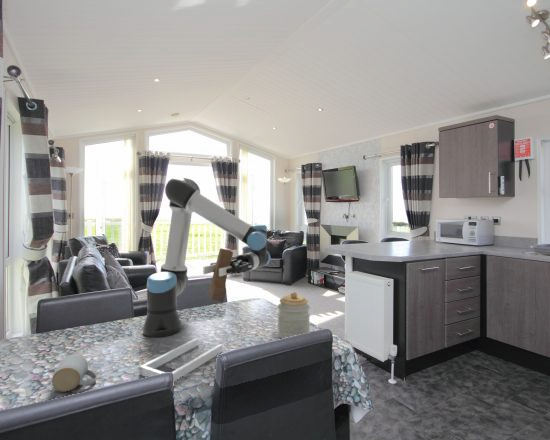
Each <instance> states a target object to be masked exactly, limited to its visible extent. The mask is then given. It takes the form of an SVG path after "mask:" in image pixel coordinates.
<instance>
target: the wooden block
mask: <svg viewBox="0 0 550 440" xmlns="http://www.w3.org/2000/svg"><path fill="white" fill-rule="evenodd" d="M233 253H234V252H233V251H232V250H230V249H226V248H220V249H219V251H218V255H217V259H216V266H215V270H214V272H213V274H212V278H211V282H210V285H209V289H208V295H209V296H210V299H211V300H212V301H215V302H217V301H218V302H224V300H225V298H226V294H227V288H226V282H227V278H228V274H227V275H224V276H219V269H220V268H224V267H228V266H230V263H231V261H232V260H233Z"/></svg>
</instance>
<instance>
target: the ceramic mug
mask: <svg viewBox="0 0 550 440" xmlns="http://www.w3.org/2000/svg"><path fill="white" fill-rule="evenodd" d="M88 368H89V363H88V361H87V359H86V358H85V357H84V356H83V355H80V354H69V355H66V356H65V357H64V358H63V359H61V361H60V362H59V364H58V366H57V368H56V370H55V371H54V373H53V375H52V379H51V384H52V386H53V388H54V389H55V390H56V391H58V392H61V393H67V392H66V391H68V392H71V391H73V390H75V389H76V388H77V387H78V386H83V387H89V386H90V387H91V386H93V385H94V384H95V383H96V381H97V379H98V375H97V374H96V372H94V371H93V370H90V369H88ZM85 375H86V376H89V377H91V378H92V379H93V380H85V379H83V378H84V377H85ZM70 390H71V391H70Z"/></svg>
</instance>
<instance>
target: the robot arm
mask: <svg viewBox="0 0 550 440" xmlns="http://www.w3.org/2000/svg"><path fill="white" fill-rule="evenodd" d="M164 192H165V196H166V198H167V199H168V200H169V208H170V209H171V211H172V212H171V218H170V219H171V220H170V225H169V234H168V240H167V246H166V247H167V248H166V255H165V262H164V263H163V264H162V265H160V271H159V272H156V273H153V274H151V275H149V276H148V277H147V281H146V301H147V303H146V304H147V305H146V306H147V307H146V309H147V313H146V317H145V321H144V324H143V327H142V333H143V335H144V336H146V337H150V338H163V337H169V336H172V335H175V334H177V333H179V332H180V331H181V330H182V321H181V319H180V316H179V313H178V301H177V299H178V296H179V295H181V294H182V293H184V291H185V290H186V288H187V287H188V283H189V277H188V275H187V274H188V267H187V266H186V260H187V259H186V258H187V257H186V256H187V252H188V251H187V249H188V242H189V236H190V229H191V221H192V220H191V219H192V215H193V213H195V214H197V215H199V216H200V217H202V218H203V219H204V220H207V221H209V222H210V223H211V224H213V225H215V226H216V227H218V228H220V229H221V230H222V231H225V232H227V233H228V234H229V235H231V236H232V237H235V238H236V239H237V240H239V241H241V242H242V243H244V244H245V245H247V246H248V248H250V249H249V251H250V252H247V253H242V254H239V255H237V256H236V257H235V259H231V263H230V266H228V267H224V268H220V269H219V276H224V275H227V276H228V275H230V274H236V273H237V274H241V273H248V272H252V270H256V269H259V268H264V267H266V266H267V265H268V264H269V263H271V262H270V261H271V257H272V256H271V254H270V252H269V251H268V249H267V248H268V247H267V245H268V244H267V241H268V237H267V236H268V235H267V234H268V230H267V229H268V228H267V225H266V224H252V225H250V224H249V223H247V222H246V221H244V220H242V219H240V218H239V217H238V216H236V215H234V214H233V213H231V212H230V211H228V210H226V209H224V208H223V207H221V206H220V205H219V204H217V203H215V202H214V201H212V200H210V199H209V198H207V197H205V196H204V195H202V194H201V190H200V187H199V185H198V184H197V182H196V181H194V180H193V179H191V178H190V179H189V178H186V177H182V176H175V177H172V178H171V179H169V180H168V181H167V183H166V184H165V187H164ZM216 262H217V261H216ZM216 262H215V261H214V262H211V263H210V265H205V266H203V268H202V269H203V270H202V272H203V273H202V274H203V275H208V274H211V273H214V270H215V266H216Z"/></svg>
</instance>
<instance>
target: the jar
mask: <svg viewBox="0 0 550 440" xmlns="http://www.w3.org/2000/svg"><path fill="white" fill-rule="evenodd" d="M279 302H280V303H279V304H277V309H278V312H277V335H278V337H279V338H281V339H282V338H285V337H290V336H294V335H299V334H303V333H307V332H310V333H311V330H310V317H311V315H310V313H309V312H310V311H309V310H310V308H311V307H310V305H309V304H308V303H309V301H308V299H307V298H305V296H303V295H298V293H297V292H296V291H292V292H291V293H290V295H289V294H288V295H284V296H283V297H282V298H280V299H279Z"/></svg>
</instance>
